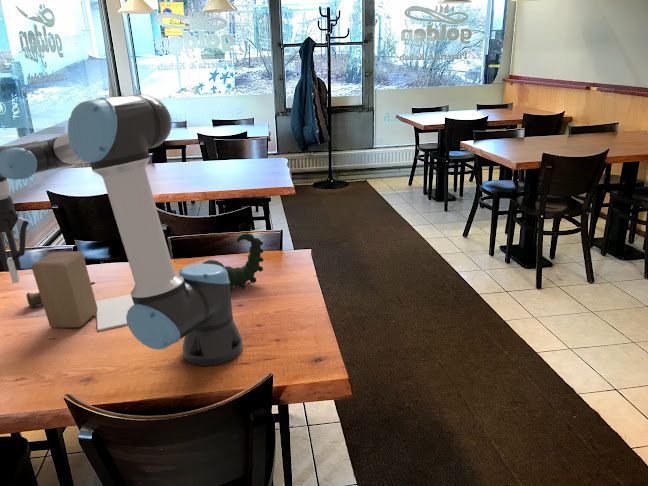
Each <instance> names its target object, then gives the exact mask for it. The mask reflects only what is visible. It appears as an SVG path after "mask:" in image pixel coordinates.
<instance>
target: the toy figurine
mask: <svg viewBox="0 0 648 486" xmlns="http://www.w3.org/2000/svg"><path fill="white" fill-rule="evenodd" d="M244 240H245V241H246V242H250V247H249V254H248V256H247V261H246V263H245V265H243V266H241V267H232V266H225V265H224V264H223V263H222V262H220V261H219V260H214V259H208V260H206V261H203V262H202V263H201V264H215V265H219V266H222V267H224V268H225V269H226V270H227V272H228V278H229V281H230V292H232V291H233V290H234V288H235V287H239V289H241V290H244V289H245V288H246V283H247V282H249V281H250V283H251V284H255V283H256V282H257V277H255V273H257V272H263V271H264V267H263V266H262V265H261V264H260V263H262V262H264V258H263V257H262V256H261V254H263V253H264V249H263V248H262V247H261V246H263V245H264V242H263V241H262V240H261V239H260V238H258V237H254V235H253V234H252V233H247V232H246V233H245V232H244V233H242V234H240V235H239V236H238V237H237V239H236V242H237V243H239V242H241V241H244ZM234 286H235V287H234Z"/></svg>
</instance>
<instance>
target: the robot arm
mask: <svg viewBox="0 0 648 486" xmlns="http://www.w3.org/2000/svg"><path fill="white" fill-rule="evenodd" d="M67 123H68V124H67V133H64V134H62V135H59V136H55V137H53V138H51V139H47V140H46V139H45V140H40V141H36V142H28V143H23V144H17V145H9V146H0V261H1V263H2V266H3V269H4V272H5V273H6V272H9V275H10V278H11V282H12V284H17V283H20V280H21V279H20V274H19V271H18V270H21V269H22V264H21V261H20V258H21V257H23V256H25V253H26V243H27V227H28V225H29V223H30V220H29V218H22V217H21V216H20V217H19V214H18V213H17V212H16V210H15V206H14V203H13V202H14V201H13V199H12V196H10V195H11V190H10V186H9V182H8V179H10V180H16V181H17V180H26V179H29V178H30V177H32V176H33V175H34V174H37V173H43V172H45V171H50V170H51V171H52V170H56V169H61V168H67V167H70V166H73V165H75V164H79V163H80V162H83V161H84V162H87V163H89V164H90V167H91V170H92V172H94V173H95V174H96V175H97V174H98V175H99V176H100V177H102V180H103V183H104V186H105V189H106V192H107V195H108V199H109V202H110V205H111V208H112V212H113V215H114V219H115V221H116V224H117V225H116V226H117V228H118V232H119V234H120V238H121V243H122V245H123V247H124V251H125V254H126V258H127V261H128V264H129V267H130V270H131V274H132V277H133V281H134V287H133V288H132V290H131V291H130V294H131V296H132V300H133V303H134V305H133V306H132V307H130V309H129V310H128V312H127V315H126V320H127V324H128V325H127V327H128V329H129V330H130V332H131V333H132V335H133V336H134V338H135V339H136V340H137V341H138V342H140V343H141V344H142V345H143V346H145V347H147V348H149V349H153V350H156V351H158V350H164V349H167V348H169V347H170V346H172V345H174V344H177V343H178V342H179V341H180V340H182V339H183V342H182V349H181V350H182V355H183V359H185V361H186V362H187V363H189V364H192V365H194V366H198V367H213V366H214V367H215V366H218V365H222V364H225V363H228V362H230V361H232V360H234V359H235V358H237V357H238V356H239V355H240V354H241V353H242V351H243V348H244V345H243V338H242V335H241V332H240V331H239V329H238V327H237V325H236V323H235V321H234V315H233V306H232V305H233V304H232V296H231V295H232V294H231V291H230V281H229V278H228V272H227V270H226V269H225V268H224V267H225V266H224V267H222V266H219V265H215V264H202V263H196V264H189V265H186V266H184V267H182V268H180V270H179V272H178V274H177V273H176V272H175V268H174V265H173V263H172V258H171V255H170V251H169V247H168V244H167V241H166V238H165V233H164V230H163V226H162V223H161V220H160V216H159V213H158V209H157V206H156V202H155V199H154V195H153V192H152V188H151V185H150V181H149V178H148V174H147V170H146V167H147V166H148V163H149V161H150V160H151V158H150V153H149V150H150V149H153V148H157V147H158V146H161V144H163V143H164V142H165V141H167V139H168V138H169V136H170V133H171V131H172V117H171V114H170V111H169V110H168V108H167V106H166V105H165V104H164V103H163V102H161V100H159V99H158V98H155V97H153V96H151V95H147V94H133V95H122V96H119V95H118V96H110V97H109V96H108V97H107V96H106V97H97V98H93V99H91V100H90V99H89V100H85V101H82V102H79V103H78V104H77V105H76V106H75V107H74V108H73V109H72V111H71V113H70V117H69V118H68V122H67ZM17 223H18V226H19V227H20V230H19V250H18V248H17V244H16V240H15V237H14V227H15V226H16V224H17ZM3 233H5V236H6V239H7V242H8V246H9V250H10V253H11V257H9V255H8V253H7V249H6V245H5V241H4V237H3Z"/></svg>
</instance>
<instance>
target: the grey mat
mask: <svg viewBox="0 0 648 486" xmlns="http://www.w3.org/2000/svg"><path fill="white" fill-rule="evenodd" d="M95 301H96V304H97V308H98V311H97V313H96V324H97V331H98V332H102V331H107V330H111V329H115V328H119V327H121V328H122V327H125V326H128V324H127V320H126V315H127V312H128V310H129V309H130V307H132V306H133V305H134V303H133V300H132V296H131V293H130V294H126V295H125V294H124V295H120V296H115V297H111V298H105V299H101V300H95Z"/></svg>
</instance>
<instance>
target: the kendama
mask: <svg viewBox="0 0 648 486" xmlns="http://www.w3.org/2000/svg"><path fill="white" fill-rule="evenodd" d="M94 284H96V282H94V281H92V282H91V286H93V285H94ZM26 300H27V304H28V306H29V308H30V309H35V307H36V306H38V305H40V304H43V303H42V299H41V296H40V293H39V292H35V293H33V292H27V293H26Z"/></svg>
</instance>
